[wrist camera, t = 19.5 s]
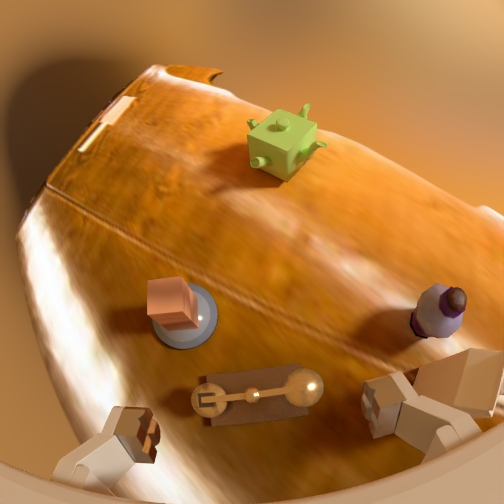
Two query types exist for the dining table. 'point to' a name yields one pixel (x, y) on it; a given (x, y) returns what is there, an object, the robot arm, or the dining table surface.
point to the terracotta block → (172, 304)
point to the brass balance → (257, 395)
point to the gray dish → (192, 336)
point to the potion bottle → (438, 312)
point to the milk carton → (464, 381)
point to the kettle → (282, 142)
